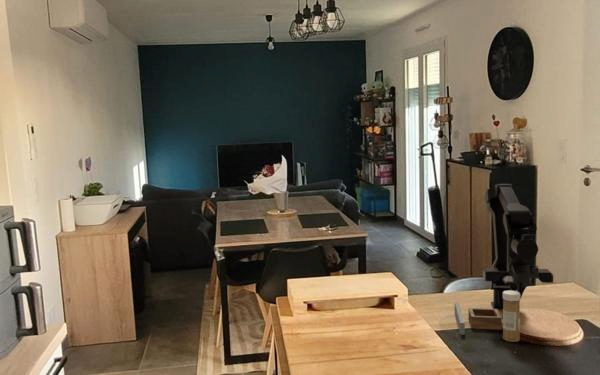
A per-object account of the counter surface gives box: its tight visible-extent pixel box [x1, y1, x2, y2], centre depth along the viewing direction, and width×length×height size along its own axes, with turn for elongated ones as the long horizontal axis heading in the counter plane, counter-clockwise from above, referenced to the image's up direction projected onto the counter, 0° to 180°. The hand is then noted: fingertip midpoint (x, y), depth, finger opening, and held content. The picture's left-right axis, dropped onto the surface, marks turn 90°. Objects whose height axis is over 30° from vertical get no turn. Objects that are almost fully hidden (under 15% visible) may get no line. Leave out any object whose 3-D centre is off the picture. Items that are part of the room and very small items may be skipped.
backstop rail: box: [454, 301, 466, 336], centre depth 166 cm, size 20×1×4 cm, turn 169°
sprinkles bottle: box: [502, 290, 521, 343], centre depth 151 cm, size 5×5×13 cm
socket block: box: [467, 307, 503, 331], centre depth 165 cm, size 8×8×4 cm
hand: (516, 303), depth 163 cm, fingers closed
